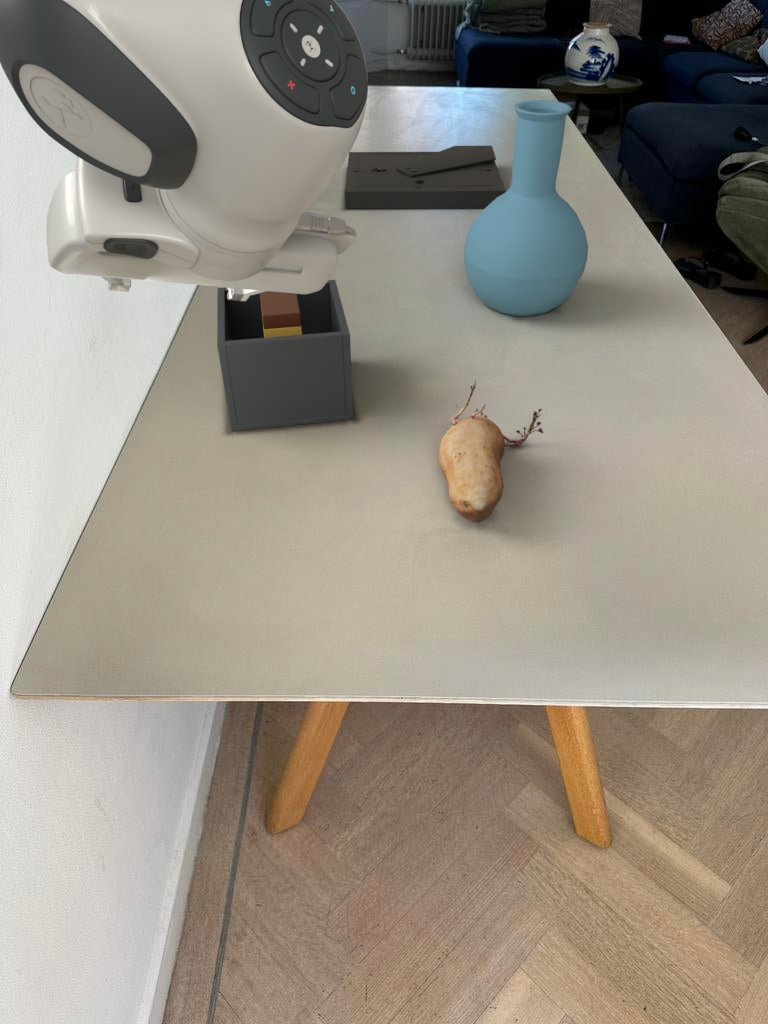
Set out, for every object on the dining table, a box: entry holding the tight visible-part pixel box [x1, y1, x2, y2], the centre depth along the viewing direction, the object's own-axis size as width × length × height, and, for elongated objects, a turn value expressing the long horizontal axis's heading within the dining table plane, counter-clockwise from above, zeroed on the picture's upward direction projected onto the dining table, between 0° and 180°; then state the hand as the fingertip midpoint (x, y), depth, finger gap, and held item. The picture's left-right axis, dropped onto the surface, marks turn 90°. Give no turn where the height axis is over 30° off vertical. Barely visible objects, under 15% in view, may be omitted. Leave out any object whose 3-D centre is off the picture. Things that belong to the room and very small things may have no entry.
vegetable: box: [437, 380, 544, 523], centre depth 74 cm, size 16×11×10 cm
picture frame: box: [344, 145, 507, 210], centre depth 143 cm, size 23×4×28 cm
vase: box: [463, 99, 589, 317], centre depth 100 cm, size 16×17×25 cm
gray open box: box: [216, 279, 354, 432], centre depth 86 cm, size 14×14×11 cm
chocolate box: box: [260, 291, 302, 338], centre depth 86 cm, size 4×6×11 cm
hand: (178, 287), depth 62 cm, fingers open, 8 cm apart
